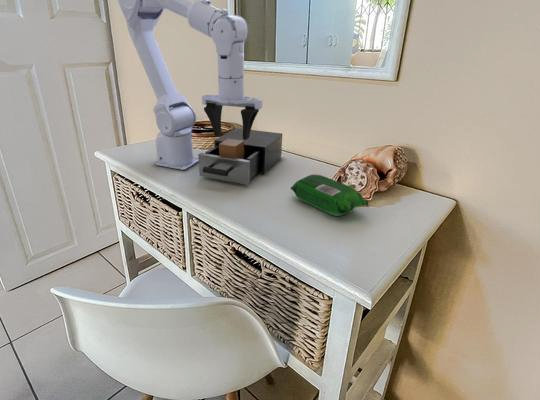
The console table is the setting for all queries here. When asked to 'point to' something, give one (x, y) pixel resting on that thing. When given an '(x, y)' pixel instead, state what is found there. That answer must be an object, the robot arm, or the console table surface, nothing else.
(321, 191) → the snack package
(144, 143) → the console table surface
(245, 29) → the robot arm
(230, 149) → the tan upright block
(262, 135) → the grey drawer cabinet
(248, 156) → the drawer
